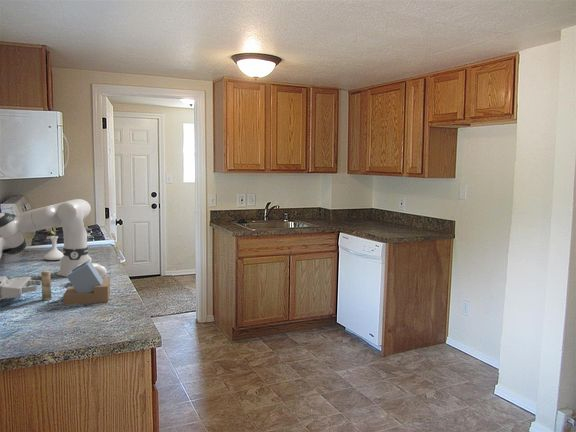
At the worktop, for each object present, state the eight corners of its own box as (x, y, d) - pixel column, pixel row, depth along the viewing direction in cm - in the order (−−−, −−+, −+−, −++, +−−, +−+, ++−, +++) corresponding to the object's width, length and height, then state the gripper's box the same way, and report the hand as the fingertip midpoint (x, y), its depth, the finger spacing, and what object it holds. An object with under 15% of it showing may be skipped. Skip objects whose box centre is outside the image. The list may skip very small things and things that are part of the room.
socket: (68, 295, 206) (67, 259, 204) (110, 293, 211) (109, 258, 209) (63, 304, 193) (62, 266, 191) (107, 302, 198) (107, 264, 196)
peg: (43, 298, 201) (42, 271, 200) (51, 298, 202) (51, 270, 201) (41, 300, 198) (40, 272, 197) (50, 300, 199) (49, 272, 198)
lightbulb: (91, 291, 214) (90, 267, 213) (93, 287, 220) (92, 264, 219) (106, 290, 216) (105, 266, 215) (107, 286, 222) (107, 263, 221)
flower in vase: (44, 258, 283) (42, 217, 280) (65, 257, 288) (64, 216, 285) (43, 262, 271) (41, 219, 268) (65, 261, 276) (63, 219, 273)
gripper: (8, 288, 204) (43, 286, 208) (-6, 301, 185) (33, 299, 189) (7, 274, 204) (43, 272, 208) (-7, 285, 184) (33, 284, 188)
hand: (38, 285), depth 198 cm, fingers open, 8 cm apart
